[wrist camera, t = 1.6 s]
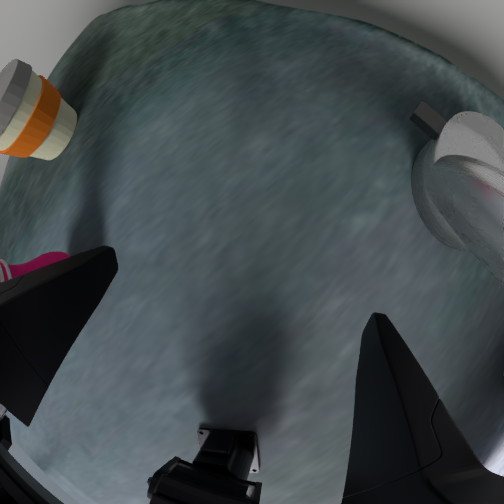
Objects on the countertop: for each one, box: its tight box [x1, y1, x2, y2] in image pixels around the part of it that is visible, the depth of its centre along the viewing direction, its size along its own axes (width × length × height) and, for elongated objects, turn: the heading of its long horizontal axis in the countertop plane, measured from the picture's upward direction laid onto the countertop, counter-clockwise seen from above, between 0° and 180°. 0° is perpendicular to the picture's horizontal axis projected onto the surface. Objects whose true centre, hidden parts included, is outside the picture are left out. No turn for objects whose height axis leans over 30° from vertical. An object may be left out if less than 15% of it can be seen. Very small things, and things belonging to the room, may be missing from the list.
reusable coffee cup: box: [0, 59, 77, 160], centre depth 24 cm, size 13×13×15 cm
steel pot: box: [410, 100, 504, 250], centre depth 18 cm, size 12×18×7 cm
